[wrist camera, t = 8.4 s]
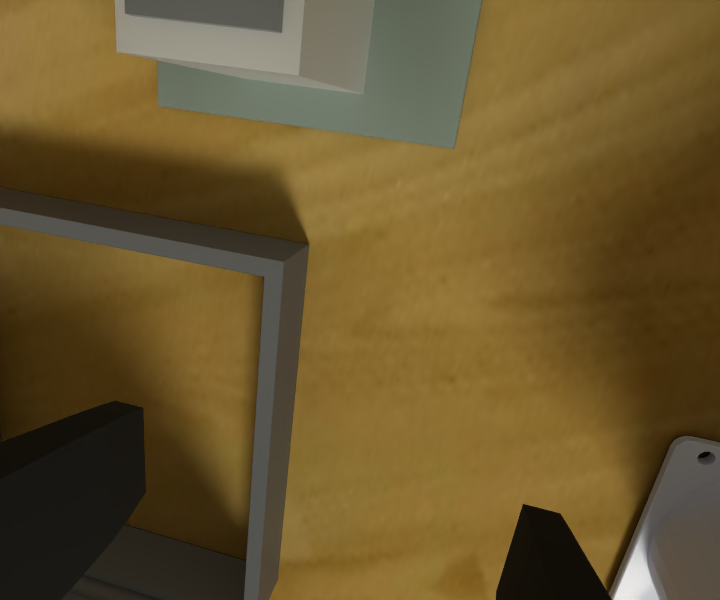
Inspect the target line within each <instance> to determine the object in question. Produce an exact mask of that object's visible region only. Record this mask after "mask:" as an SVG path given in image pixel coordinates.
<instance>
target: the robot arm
mask: <svg viewBox="0 0 720 600" xmlns="http://www.w3.org/2000/svg"><path fill="white" fill-rule="evenodd" d="M703 452H710V454H709V455H708V456H707V457H704V458H698V456H699V454H700V453H703ZM145 493H146V489H145V454H144V420H143V408H142V407H138V406H134V405H130V404H126V403H122V402H118V401H113V402H110V403H107V404H103V405H100V406H97V407H94V408H91V409H89V410H86V411H83V412H80V413H78V414H75V415H72V416H70V417H67V418H64V419H62V420H59V421H56V422H54V423H51V424H48V425H46V426H43V427H41V428H38V429H35V430H33V431H30V432H27V433H25V434H22V435H19V436H17V437H14V438H11V439H9V440H6V441H4V442H1V443H0V600H62V599H63V597H64V596H65V595H66V594H67V593H68V592H69V591H70V589H71V588H72V587H73V586H74V585H75V584H76V583H77V582H78V580H79V579H80V578H81V577H82V576H83V575H84V573H85V572H86V571H87V570H88V569H89V568H90V567H91V565H92V564H93V563H94V562H95V561H96V560H97V558H98V557H99V556H100V555H101V554H102V553H103V551H104V550H105V549H106V548H107V547H108V546H109V544H110V543H111V542H112V541H113V539H114V538H115V537H116V535H117V534H118V532H119V531H120V530H121V528H122V527H123V525H124V524H125V523H126V521H127V520H128V518H129V517H130V515H131V514H132V512H133V511H134V509H135V508H136V506H137V505H138V503H139V502H140V500H141V499H142V497H143V496H144V494H145ZM496 600H720V442H715V441H711V440H706V439H702V438H697V437H693V436H682V437H679V438H677V439H675V440H674V441H673V442H672V444H671V445H670V447H669V450H668V452H667V455H666V457H665V459H664V462H663V464H662V467H661V469H660V472H659V474H658V476H657V479H656V481H655V484H654V486H653V488H652V491H651V493H650V496H649V498H648V500H647V503H646V505H645V508H644V510H643V512H642V515H641V517H640V520H639V522H638V524H637V527H636V529H635V532H634V534H633V537H632V539H631V541H630V544H629V546H628V549H627V551H626V553H625V556H624V558H623V561H622V563H621V565H620V568H619V570H618V573H617V575H616V577H615V580H614V582H613V585H612V587H611V589H610V592H609V594H608V592H607V591H606V589H605V587H604V586H603V584H602V582H601V581H600V579H599V577H598V576H597V574H596V572H595V571H594V569H593V567H592V566H591V564H590V562H589V561H588V559H587V557H586V556H585V554H584V552H583V550H582V549H581V547H580V545H579V544H578V542H577V540H576V539H575V537H574V535H573V533H572V532H571V530H570V528H569V527H568V525H567V523H566V522H565V520H564V519H563V517H562V515H561V514H560V513H556V512H553V511H549V510H545V509H541V508H537V507H533V506H529V505H525V504H523V506H522V509H521V513H520V516H519V519H518V523H517V526H516V529H515V532H514V536H513V539H512V542H511V545H510V549H509V552H508V555H507V558H506V562H505V565H504V568H503V572H502V575H501V578H500V581H499V585H498V588H497V591H496Z"/></svg>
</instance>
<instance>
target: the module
mask: <svg viewBox="0 0 720 600" xmlns="http://www.w3.org/2000/svg"><path fill="white" fill-rule="evenodd" d="M374 2H375V0H115V19H116V45H117V52H119V53H124V54H129V55H134V56H139V57H143V58H148V59H153V60H158V61H162V62H167V63H172V64H177V65H182V66H186V67H191V68H196V69H201V70H206V71H210V72H215V73H220V74H225V75H229V76H234V77H239V78H245V79H252V80H260V81H268V82H275V83H283V84H290V85H298V86H305V87H313V88H320V89H328V90H335V91H343V92H351V93H358V94H363V93H364V84H365V76H366V68H367V60H368V52H369V43H370V35H371V27H372V19H373V11H374Z"/></svg>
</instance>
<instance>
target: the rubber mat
mask: <svg viewBox="0 0 720 600" xmlns="http://www.w3.org/2000/svg"><path fill="white" fill-rule="evenodd" d="M481 4H482V0H375V2H374V11H373V19H372V27H371V35H370V43H369V52H368V60H367V68H366V76H365V84H364V93H363V94H358V93H351V92H343V91H335V90H328V89H320V88H313V87H305V86H298V85H290V84H283V83H275V82H268V81H260V80H252V79H245V78H239V77H234V76H229V75H225V74H220V73H215V72H210V71H206V70H201V69H196V68H191V67H186V66H182V65H177V64H172V63H167V62H162V61H158V60H157V79H158V106H161V107H168V108H175V109H182V110H189V111H196V112H203V113H210V114H217V115H224V116H231V117H238V118H245V119H251V120H258V121H265V122H272V123H279V124H286V125H293V126H300V127H307V128H314V129H321V130H328V131H335V132H342V133H348V134H355V135H362V136H369V137H376V138H383V139H390V140H397V141H404V142H411V143H418V144H425V145H432V146H439V147H445V148H452V149H454V148H455V144H456V138H457V133H458V127H459V122H460V117H461V111H462V106H463V101H464V95H465V90H466V85H467V79H468V74H469V68H470V63H471V58H472V52H473V47H474V42H475V36H476V31H477V25H478V20H479V15H480V9H481Z"/></svg>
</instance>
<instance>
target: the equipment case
mask: <svg viewBox="0 0 720 600" xmlns="http://www.w3.org/2000/svg"><path fill="white" fill-rule="evenodd" d="M0 225H5V226H10V227H15V228H20V229H25V230H30V231H36V232H41V233H46V234H51V235H56V236H61V237H66V238H71V239H76V240H81V241H86V242H91V243H96V244H101V245H106V246H111V247H117V248H122V249H127V250H132V251H137V252H142V253H147V254H152V255H157V256H162V257H167V258H172V259H177V260H182V261H187V262H192V263H197V264H203V265H208V266H213V267H218V268H223V269H228V270H233V271H238V272H243V273H248V274H253V275H258V276H263V277H264V291H263V307H262V323H261V339H260V354H259V370H258V386H257V402H256V417H255V433H254V449H253V465H252V481H251V496H250V512H249V528H248V544H247V559H246V561H244V560H241V559H238V558H234V557H231V556H228V555H224V554H221V553H218V552H214V551H211V550H207V549H204V548H201V547H197V546H194V545H191V544H187V543H184V542H180V541H177V540H174V539H170V538H167V537H164V536H160V535H157V534H154V533H150V532H147V531H143V530H140V529H137V528H133V527H130V526H127V525H123V527H122V528H121V530H120V531H119V532H118V534H117V535H116V537H115V538H114V539H113V541H112V542H111V543H110V544H109V546H108V547H107V548H106V549H105V550H104V551H103V553H102V554H101V555H100V556H99V557H98V558H97V560H96V561H95V562H94V563H93V564H92V565H91V567H90V568H89V569H88V570H87V571H86V572H85V573H84V575H83V576H82V577H81V578H80V579H79V580H78V582H77V583H76V584H75V585H74V586H73V587H72V588H71V589H70V591H69V592H68V593H67V594H66V595H65V596H64V597H63V599H62V600H269V598H270V596H271V594H272V591H273V589H274V587H275V585H276V582H277V580H278V569H279V559H280V548H281V538H282V527H283V516H284V506H285V495H286V485H287V474H288V463H289V453H290V442H291V431H292V421H293V410H294V400H295V389H296V378H297V368H298V357H299V347H300V336H301V325H302V315H303V304H304V294H305V283H306V272H307V262H308V251H309V244H304V243H299V242H293V241H288V240H282V239H277V238H272V237H266V236H261V235H255V234H250V233H244V232H239V231H233V230H228V229H223V228H217V227H212V226H206V225H201V224H195V223H190V222H185V221H179V220H174V219H168V218H163V217H157V216H152V215H146V214H141V213H136V212H130V211H125V210H119V209H114V208H108V207H103V206H97V205H92V204H87V203H81V202H76V201H70V200H65V199H59V198H54V197H48V196H43V195H38V194H32V193H27V192H21V191H16V190H10V189H5V188H0ZM0 443H1V437H0Z"/></svg>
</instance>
